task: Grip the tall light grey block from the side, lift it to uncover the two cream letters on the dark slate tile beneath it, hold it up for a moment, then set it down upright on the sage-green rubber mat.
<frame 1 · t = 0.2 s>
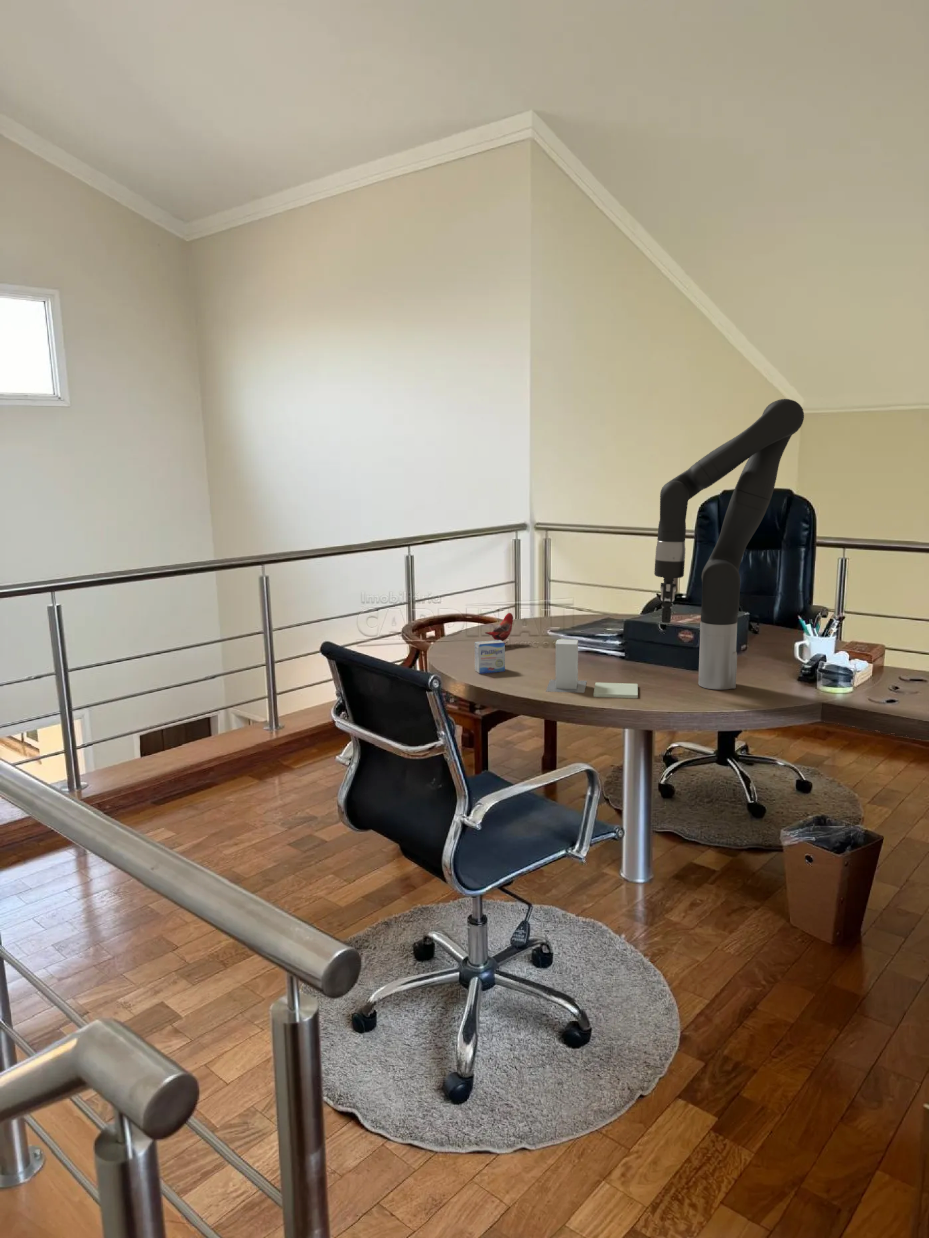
hand: (666, 619, 228), 18 cm above the table, tool pointing down, fingers open, 8 cm apart
medicine box: (489, 671, 249), on the table
sage mat: (615, 692, 225), on the table
code tile: (566, 686, 231), on the table
light grey block: (566, 685, 231), resting on code tile
decorative bird figurine: (499, 647, 280), on the table
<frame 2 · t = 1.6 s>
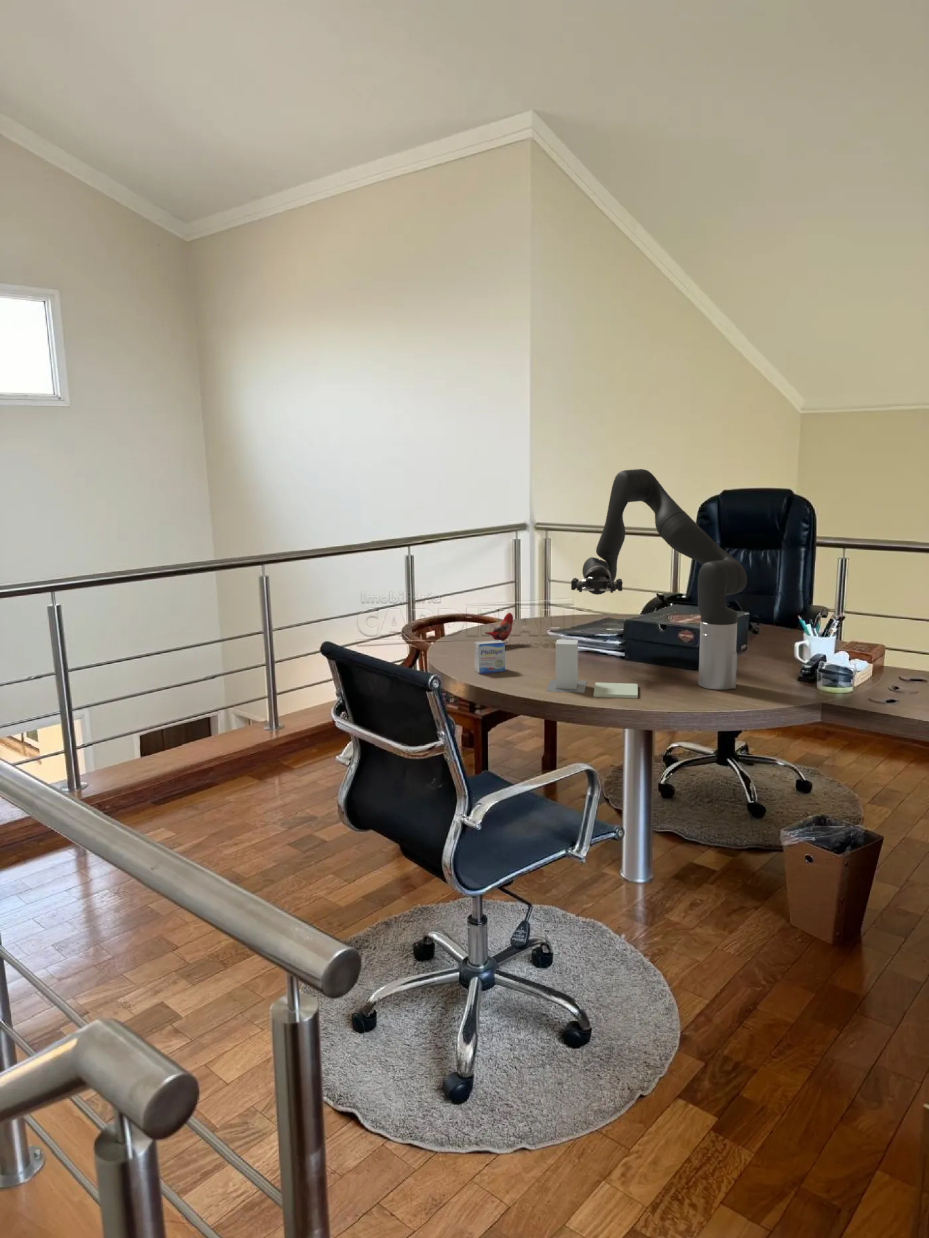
hand: (596, 588, 239), 24 cm above the table, tool horizontal, fingers open, 8 cm apart
nothing on the table moved.
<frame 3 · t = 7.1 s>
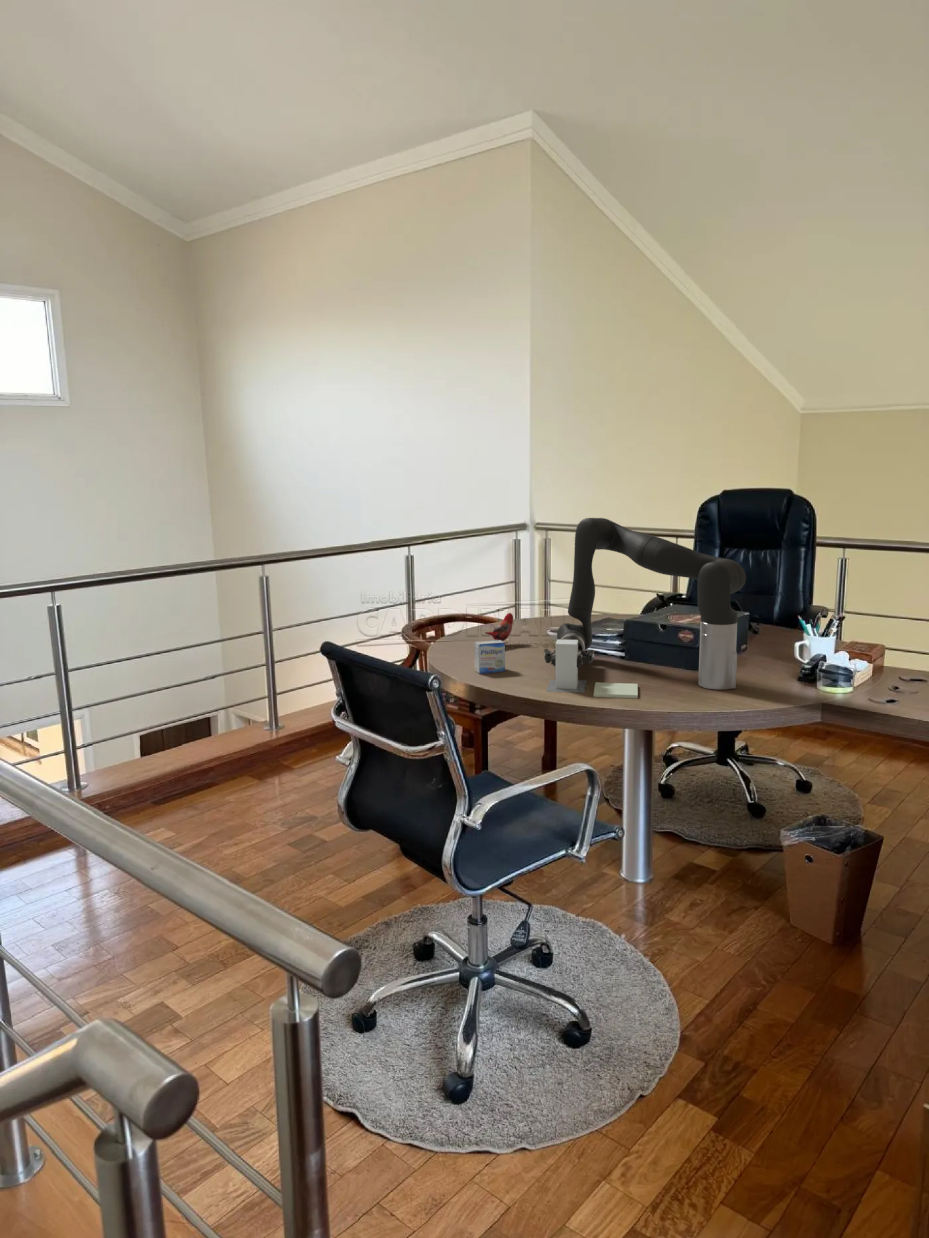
hand: (566, 662, 228), 7 cm above the table, tool horizontal, fingers closed on light grey block, 5 cm apart
light grey block: (566, 685, 231), resting on code tile, touching gripper
everything else where it was.
when the fingers open (9 cm above the table, at t = 15.4 s): light grey block drops 1 cm, resting on sage mat.
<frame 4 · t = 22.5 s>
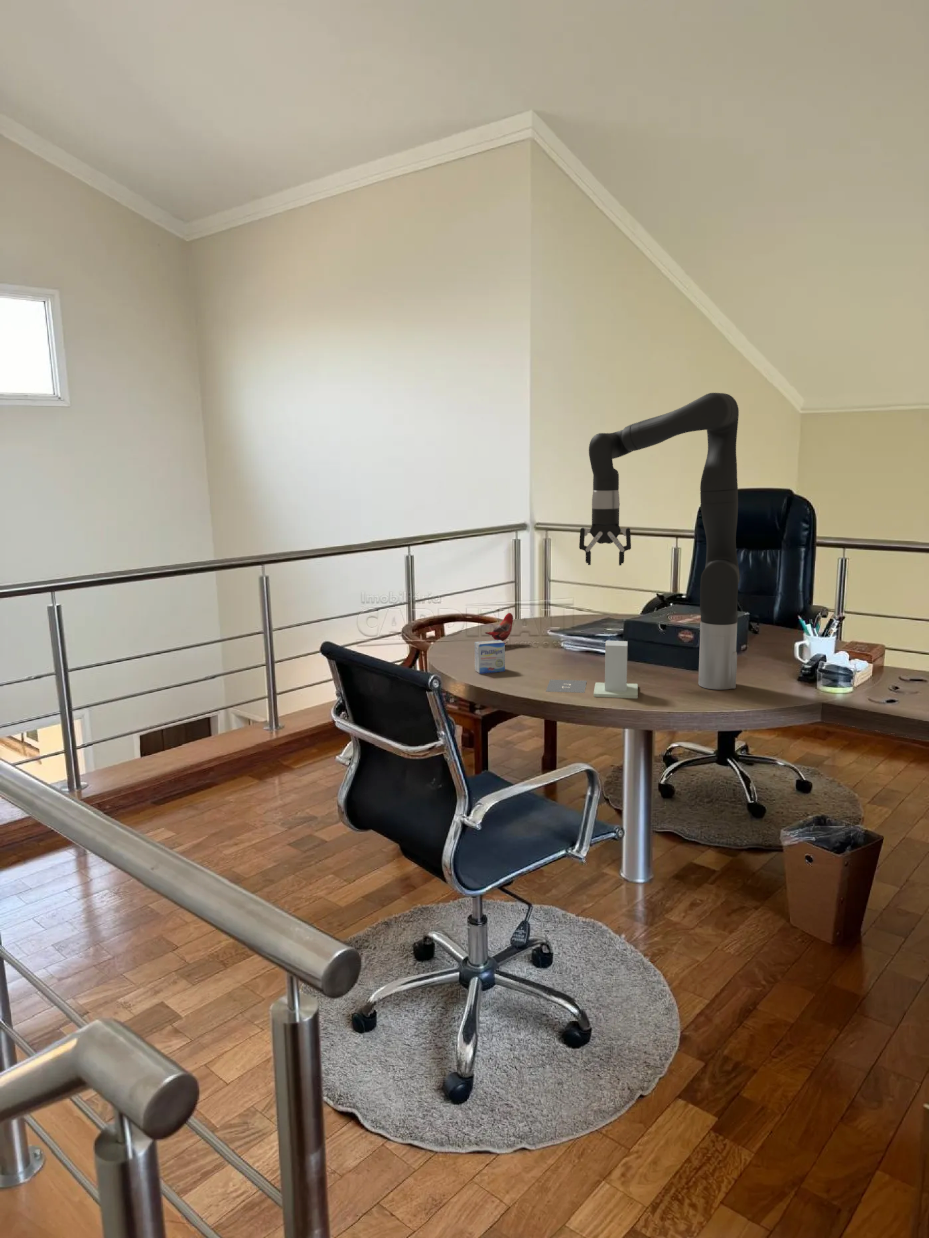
hand: (604, 565, 243), 30 cm above the table, tool pointing down, fingers open, 8 cm apart
light grey block: (615, 688, 225), point 1 cm above the table, touching sage mat
everything else where it was.
at the end: light grey block inside the target area on the sage mat (0.1 cm from its centre), point 1.0 cm above the sage mat's base; light grey block tilted 0°; the gripper is holding nothing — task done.
